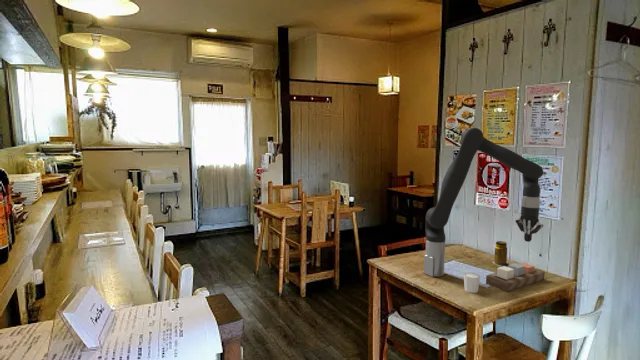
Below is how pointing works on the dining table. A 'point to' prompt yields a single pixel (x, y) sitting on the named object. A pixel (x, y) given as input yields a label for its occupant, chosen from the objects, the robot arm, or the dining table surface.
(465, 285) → the white cup
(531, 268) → the terracotta key
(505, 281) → the brown wooden tray
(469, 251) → the dining table surface
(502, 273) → the cream block
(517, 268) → the slate key
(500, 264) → the condiment
